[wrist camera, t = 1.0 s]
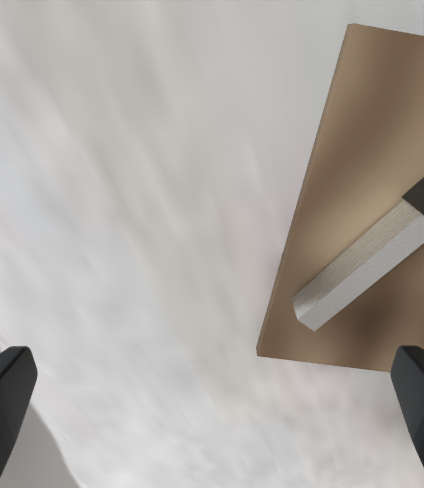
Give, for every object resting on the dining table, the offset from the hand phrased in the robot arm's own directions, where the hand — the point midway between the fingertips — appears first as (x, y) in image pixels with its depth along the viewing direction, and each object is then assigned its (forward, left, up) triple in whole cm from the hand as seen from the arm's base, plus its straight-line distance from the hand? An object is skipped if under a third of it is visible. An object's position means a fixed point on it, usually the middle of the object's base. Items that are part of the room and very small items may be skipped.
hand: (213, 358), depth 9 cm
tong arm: (-10, 0, -12) cm, 15 cm away
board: (-12, +1, -13) cm, 18 cm away
